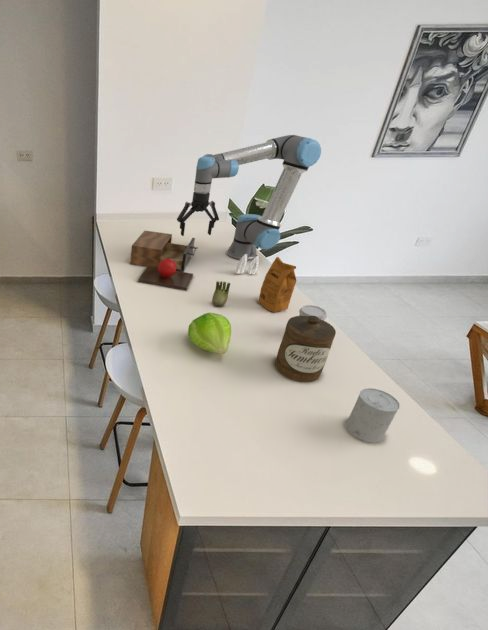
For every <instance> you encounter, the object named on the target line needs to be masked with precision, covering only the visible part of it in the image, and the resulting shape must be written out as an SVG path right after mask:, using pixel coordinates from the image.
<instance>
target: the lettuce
mask: <svg viewBox="0 0 488 630" xmlns="http://www.w3.org/2000/svg"><path fill="white" fill-rule="evenodd" d="M187 335H188V338H189V340H190V342H192V343H193V344H194V345H195V346H197V348H199V349H201V350H204V351H207V352H209V353H214V354H217V355H222V356H223V355H225V354H226V353H227V351H228V350H229V346H230V345H229V344H230V341H231V338H232V337H231V336H232V324H231V323H230V321H229V319H228V318H227V317H226V316H224V315H222V314H219V313H215V312H206V313H203V314H201V315H200V316H198V317H195V318H194V319H192V320H191V322H190V323H189V325H188V330H187Z"/></svg>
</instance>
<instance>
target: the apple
mask: <svg viewBox="0 0 488 630" xmlns="http://www.w3.org/2000/svg"><path fill="white" fill-rule="evenodd" d="M176 271H177V269H176V264H175V262H174V261H173V260H172V259H169V257H168V258H166V259H163V260H162V261H160V263H159V265H158V272H159V274H160V275H161V276H162V277H163V278H169V277H171V276H172V275H174V273H175V272H176Z"/></svg>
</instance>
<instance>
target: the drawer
mask: <svg viewBox="0 0 488 630" xmlns="http://www.w3.org/2000/svg"><path fill="white" fill-rule="evenodd" d="M195 240H196V238H195V237H192V238H191V240H190V241H189V243H188V245H186V244H180V243H173V242H171V243H167V244H166V245H165V246H164V248H163V249H162V252H161V261H162V260H163V259H166V258H168V257H169V259H172V260H173V261H174V262H175V264H176V270H178V271H180V272H185V270H186V269H187V266H188V264H189V262H190V260H191V259H192V257H194V256H195V255H196V253H197V251H198V249H199V247H198V246H195Z"/></svg>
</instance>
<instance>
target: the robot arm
mask: <svg viewBox="0 0 488 630" xmlns="http://www.w3.org/2000/svg"><path fill="white" fill-rule="evenodd" d="M321 155H322V147H321V144H320V142H319V141H318V140H317V139H313V138H311V137H306V136H300V135H297V134H287V135H283V136H278V137H275V138H271V139H267V140H266V141H265V142H262V143H258V144H254V145H249V146H246V147H241V148H237V149H233V150H229V151H225V152H221V153H216V154H211V153H206V154H204V155H203V156H201V157H199V158H198V159H197V163H196V167H195V168H196V169H195V180H194V185H193V193H192V200H191V202H188V201H185V203H184V207H183V208H182V210H181V211H180V213H179V215H178V216H177V217H176V221H177V222H178V223H179V230H180V235H181V236H182V237H185V228H186V221H187V220H188V219H189V218H190V217H191V216H192V215H193V214H194V213H199V212H202V213H203V212H205V214H206V215H207V217H209V222H208V229H207V234H208V236H211V235H212V229H214V228H215V223H216V222H217V221H219V220H220V218H219V214H218V211H217V208H216V202H215V201H214V200H211V201H209V200H210V194H211V189H212V184H213V183H212V181H213V179H225V178H228V179H229V178H233V177H236V175H238V173H239V168H240V165H246V164H249V163H254V162H258V161H262V160H266V159H267V160H269V161H271V160H283V162H282V167H283V169H282V171H281V174H280V176H279V178H278V180H277V183H276V184H275V187H274V189H273V191H272V194H271V195H270V197H269V200H268V202H267V203H266V207H265V209H264V211H263V214H262V215H260V214H255V213H254V214H253V213H245V214H241V215H239V216H238V217H237V221H236V226H235V231H234V235H233V240H232V242H231V244H230V246H229V247H228V250H227V255H228V256H229V257H230V258H232V259H235V260H239V261H240V259H241V258H242V257H243V256H244V255H245V254H247V261H253V259H254V258H255V257H256V256H258V255H257V254H258V252H257V248H259V249H260V250H270V249H272V248H274V247H275V246H276V245H277V244H278V243H279V242H280V239H281V233H280V231H279V230H280V228H281V226H282V225H281V223H280V221H281V219H282V217H283V215H284V212H285V210H286V208H287V206H288V205H289V202H290V200H291V198H292V196H293V194H294V191H295V190H296V188H297V185H298V183H299V181H300V179H301V177H302V175H303V174H304V173H306V172H308V170H309V168H310V167H312V166H314V165H315V164H317V162H318V161H319V159H320V158H321ZM209 206H210V208H211V211H212V214H211V212H210V211H209V210H208V207H209Z"/></svg>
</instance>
